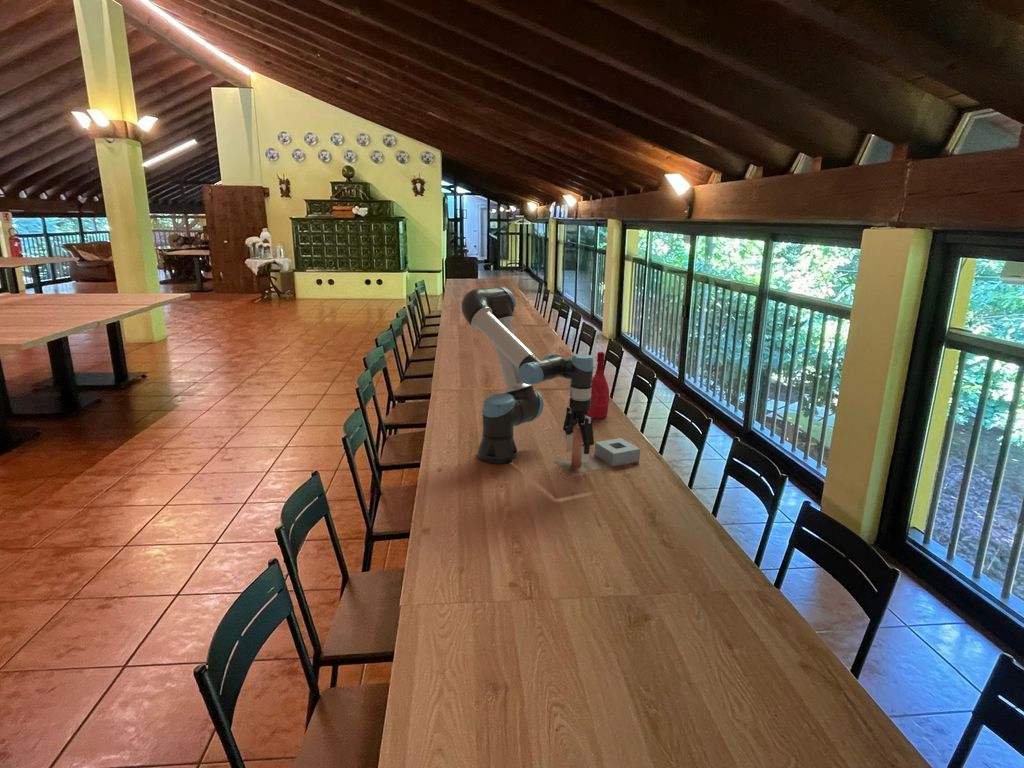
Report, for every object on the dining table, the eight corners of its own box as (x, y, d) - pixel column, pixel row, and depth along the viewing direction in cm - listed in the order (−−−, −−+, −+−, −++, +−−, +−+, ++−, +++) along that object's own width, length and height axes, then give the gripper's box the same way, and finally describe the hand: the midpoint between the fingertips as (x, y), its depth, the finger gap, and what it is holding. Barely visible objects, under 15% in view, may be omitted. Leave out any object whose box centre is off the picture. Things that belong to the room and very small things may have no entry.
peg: (574, 468, 223) (577, 429, 219) (569, 464, 226) (571, 425, 222) (583, 466, 225) (585, 427, 221) (577, 462, 228) (580, 424, 224)
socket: (612, 466, 226) (613, 453, 224) (594, 454, 236) (595, 442, 234) (639, 461, 231) (640, 448, 229) (620, 449, 241) (621, 437, 240)
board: (570, 477, 218) (570, 474, 218) (553, 464, 228) (553, 461, 228) (638, 463, 231) (639, 461, 231) (619, 452, 241) (620, 449, 241)
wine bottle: (590, 420, 277) (595, 355, 268) (582, 413, 286) (586, 350, 277) (611, 418, 279) (616, 354, 271) (602, 411, 288) (606, 349, 280)
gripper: (607, 405, 210) (602, 466, 217) (572, 388, 229) (569, 444, 236) (588, 408, 207) (584, 469, 213) (555, 390, 226) (552, 446, 232)
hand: (576, 456), depth 224 cm, fingers open, 10 cm apart
